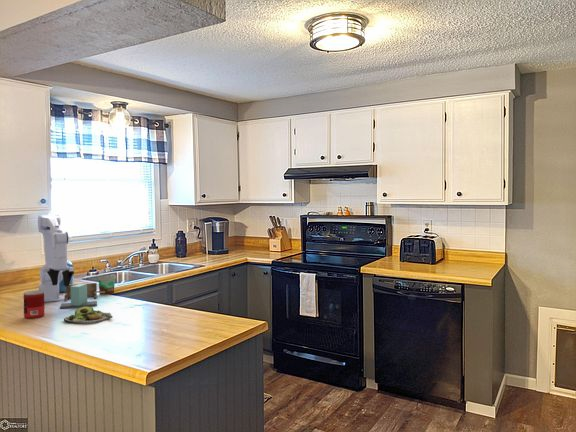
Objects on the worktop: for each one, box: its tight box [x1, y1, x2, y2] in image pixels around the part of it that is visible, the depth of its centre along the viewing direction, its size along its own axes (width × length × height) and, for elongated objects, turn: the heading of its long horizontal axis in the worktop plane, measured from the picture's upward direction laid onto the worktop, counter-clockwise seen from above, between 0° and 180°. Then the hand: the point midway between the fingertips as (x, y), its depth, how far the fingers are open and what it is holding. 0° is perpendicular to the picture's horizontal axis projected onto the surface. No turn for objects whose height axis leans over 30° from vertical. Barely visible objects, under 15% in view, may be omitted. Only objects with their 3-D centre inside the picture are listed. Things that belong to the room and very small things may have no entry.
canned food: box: [23, 289, 45, 320], centre depth 201 cm, size 8×8×11 cm
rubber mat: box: [59, 300, 98, 310], centre depth 223 cm, size 16×8×1 cm, turn 112°
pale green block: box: [70, 283, 88, 306], centre depth 223 cm, size 4×8×9 cm, turn 177°
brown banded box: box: [64, 282, 98, 302], centre depth 241 cm, size 15×9×7 cm, turn 112°
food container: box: [97, 273, 117, 295], centre depth 256 cm, size 12×6×10 cm, turn 168°
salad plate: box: [63, 306, 114, 325], centre depth 197 cm, size 19×18×5 cm
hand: (60, 285), depth 220 cm, fingers open, 7 cm apart
